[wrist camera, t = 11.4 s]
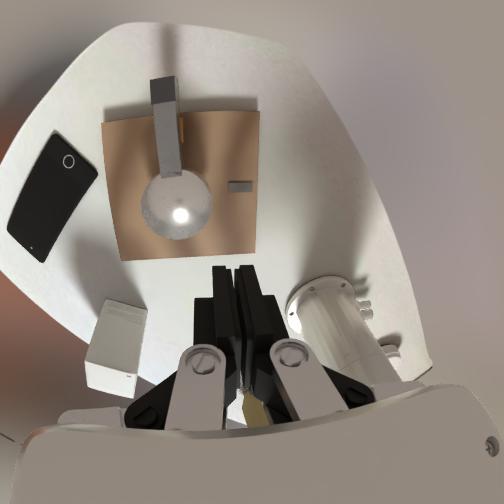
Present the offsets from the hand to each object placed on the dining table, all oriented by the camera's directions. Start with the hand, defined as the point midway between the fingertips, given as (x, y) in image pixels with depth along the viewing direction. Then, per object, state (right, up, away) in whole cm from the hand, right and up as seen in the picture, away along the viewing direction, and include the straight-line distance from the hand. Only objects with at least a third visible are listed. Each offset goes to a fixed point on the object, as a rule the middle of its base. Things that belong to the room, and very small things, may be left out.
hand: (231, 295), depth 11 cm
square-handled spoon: (-7, +12, +14) cm, 20 cm away
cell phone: (-28, +9, +18) cm, 34 cm away
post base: (-8, +10, +20) cm, 24 cm away
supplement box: (-20, -9, +29) cm, 36 cm away
